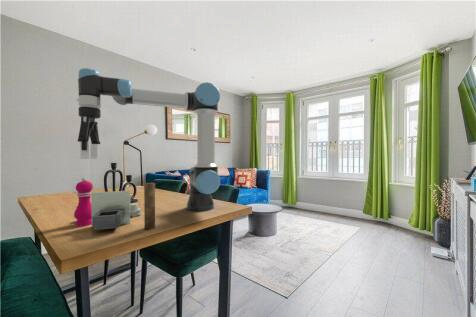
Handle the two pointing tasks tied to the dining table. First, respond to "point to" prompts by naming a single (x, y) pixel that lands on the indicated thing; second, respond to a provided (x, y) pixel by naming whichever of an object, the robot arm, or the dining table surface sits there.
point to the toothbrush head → (134, 210)
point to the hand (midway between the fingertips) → (90, 158)
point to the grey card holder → (110, 209)
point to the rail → (149, 206)
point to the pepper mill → (84, 203)
